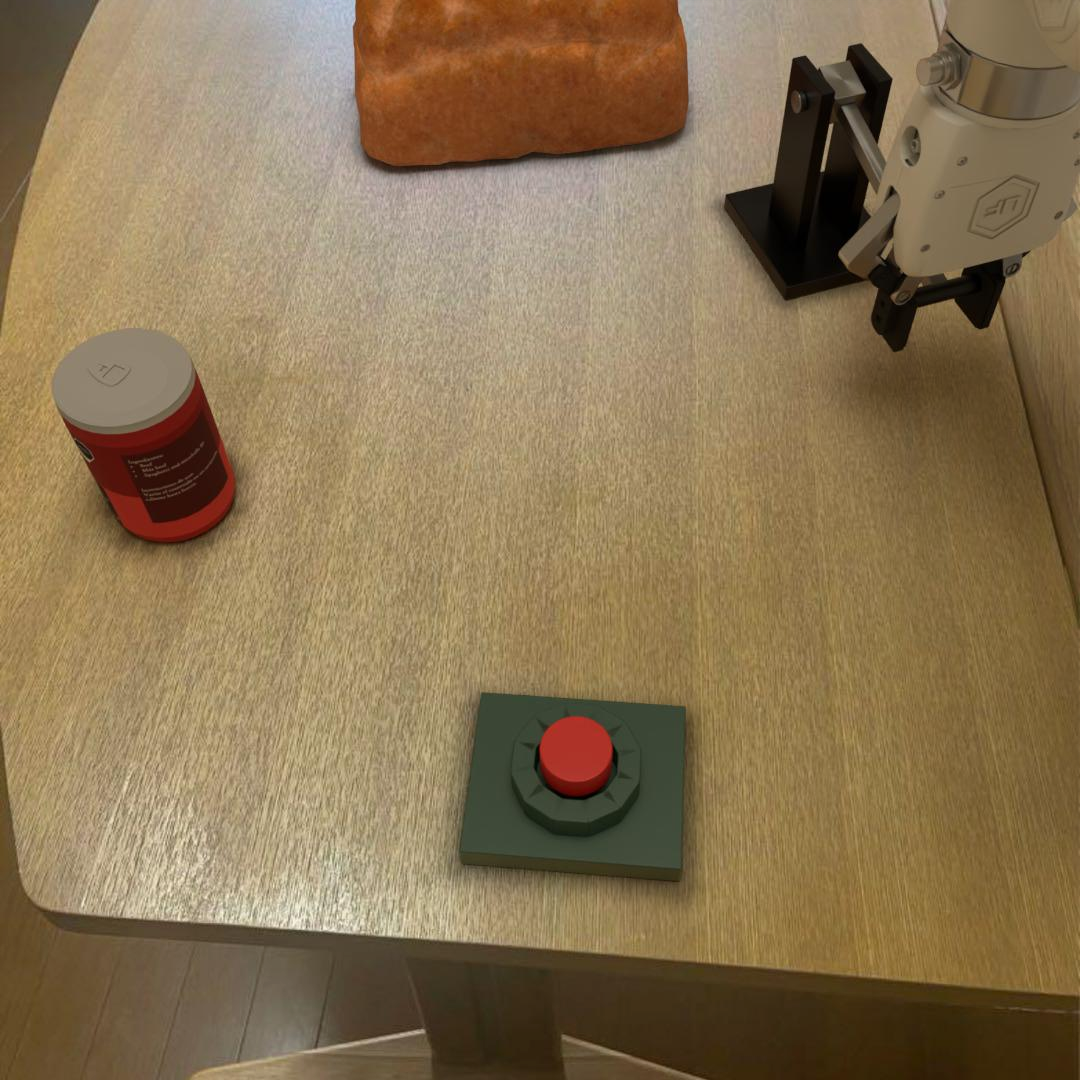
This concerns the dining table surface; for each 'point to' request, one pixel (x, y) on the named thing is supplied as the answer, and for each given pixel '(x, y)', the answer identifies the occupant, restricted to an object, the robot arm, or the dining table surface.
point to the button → (576, 756)
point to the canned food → (146, 432)
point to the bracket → (812, 183)
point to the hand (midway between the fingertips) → (929, 323)
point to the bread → (515, 77)
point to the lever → (882, 170)
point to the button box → (576, 821)
